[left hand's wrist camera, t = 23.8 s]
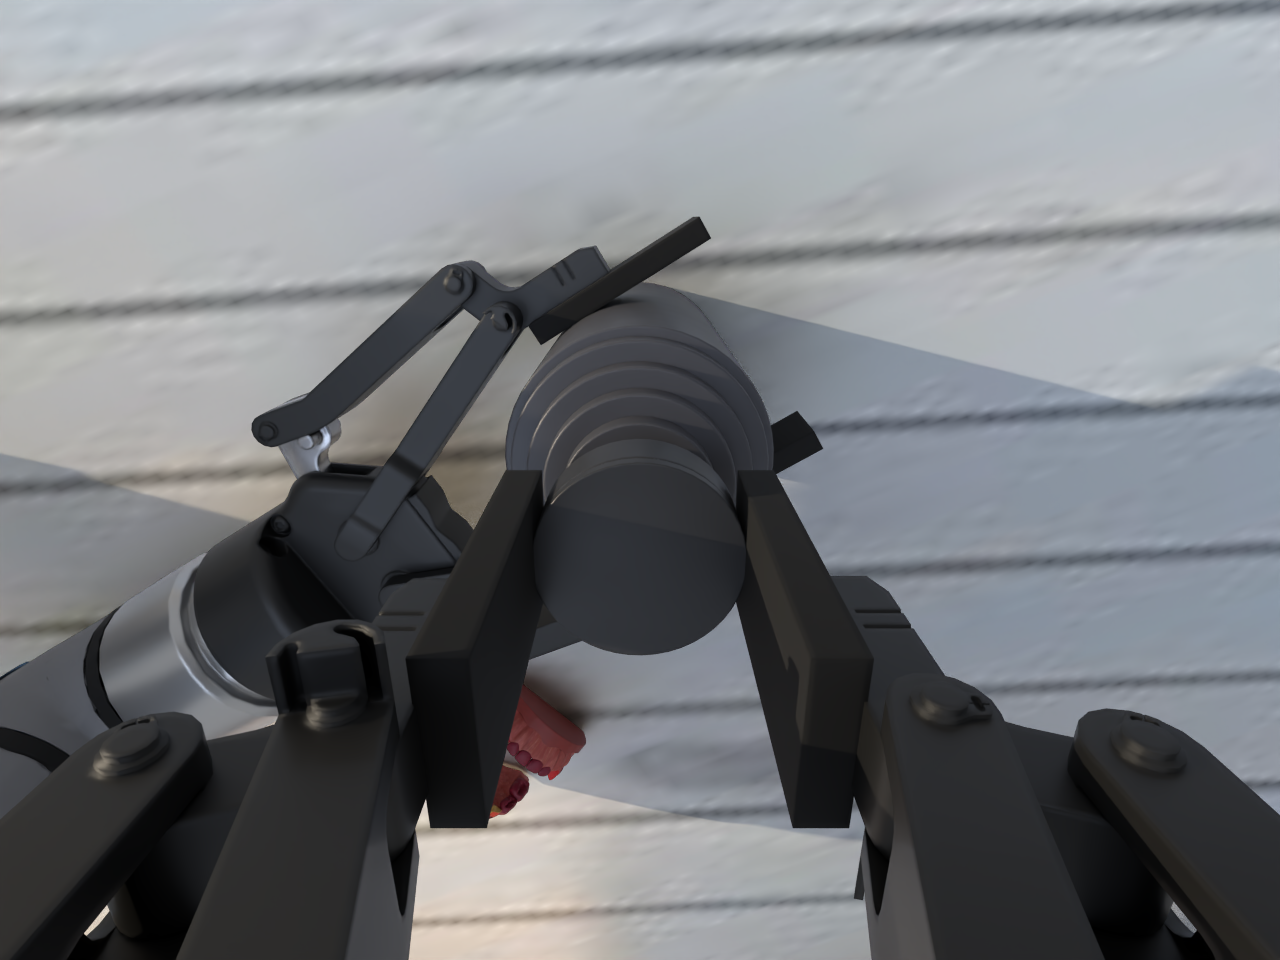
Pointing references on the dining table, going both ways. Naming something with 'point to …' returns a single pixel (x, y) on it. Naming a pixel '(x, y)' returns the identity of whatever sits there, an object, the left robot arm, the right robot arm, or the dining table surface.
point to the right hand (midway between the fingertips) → (757, 333)
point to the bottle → (640, 391)
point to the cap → (639, 548)
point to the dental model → (535, 748)
